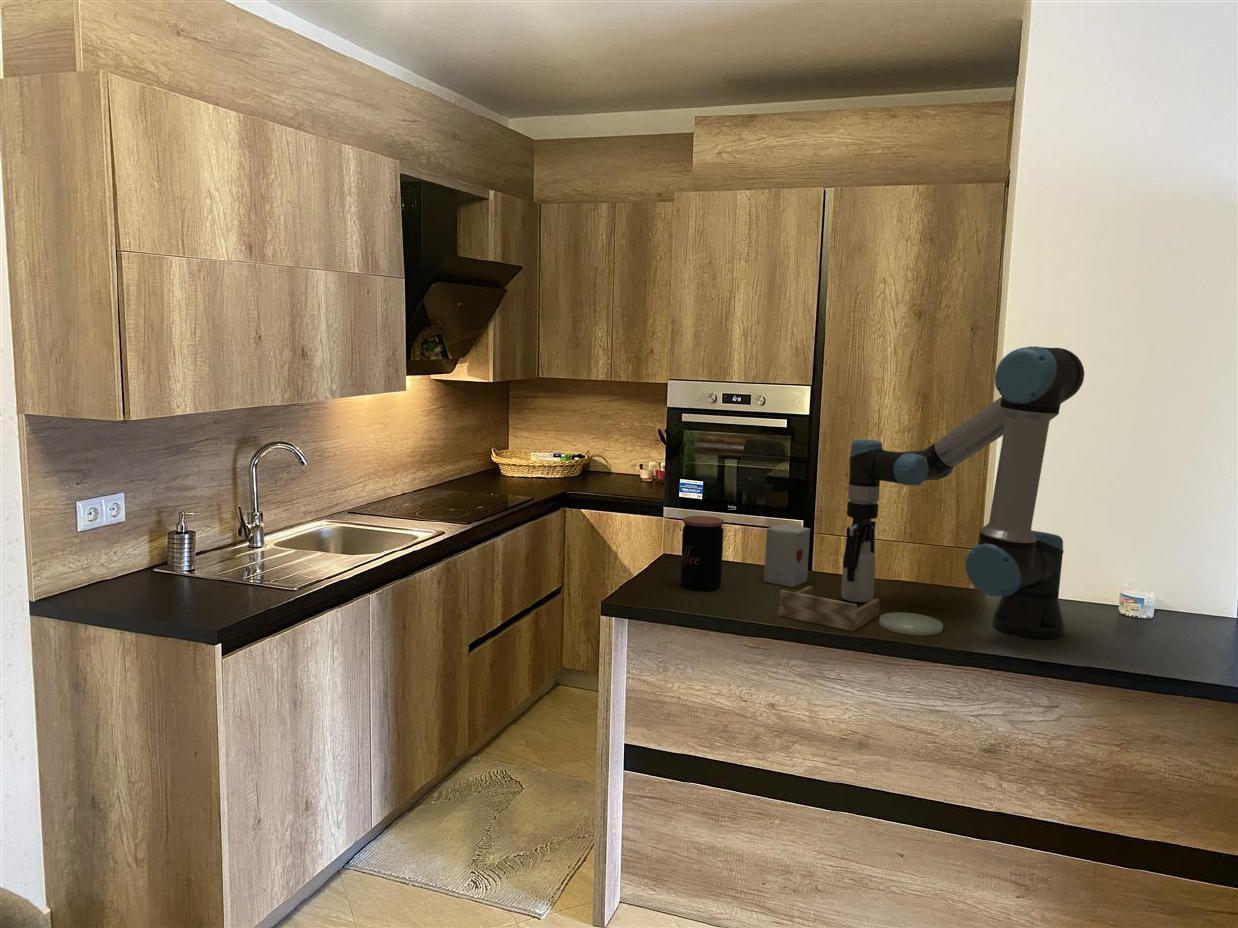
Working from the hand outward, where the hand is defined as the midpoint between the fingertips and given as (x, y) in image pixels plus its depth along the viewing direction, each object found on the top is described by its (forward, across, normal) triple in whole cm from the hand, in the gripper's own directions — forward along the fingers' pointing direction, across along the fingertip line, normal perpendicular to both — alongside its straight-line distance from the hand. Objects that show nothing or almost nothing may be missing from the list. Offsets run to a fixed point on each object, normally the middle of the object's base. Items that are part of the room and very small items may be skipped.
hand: (857, 590), depth 233 cm
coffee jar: (+3, +15, -37) cm, 40 cm away
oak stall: (+3, +17, 0) cm, 17 cm away
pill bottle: (+2, 0, 0) cm, 2 cm away
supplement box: (+3, -5, -22) cm, 23 cm away
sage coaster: (+3, +13, +18) cm, 22 cm away
